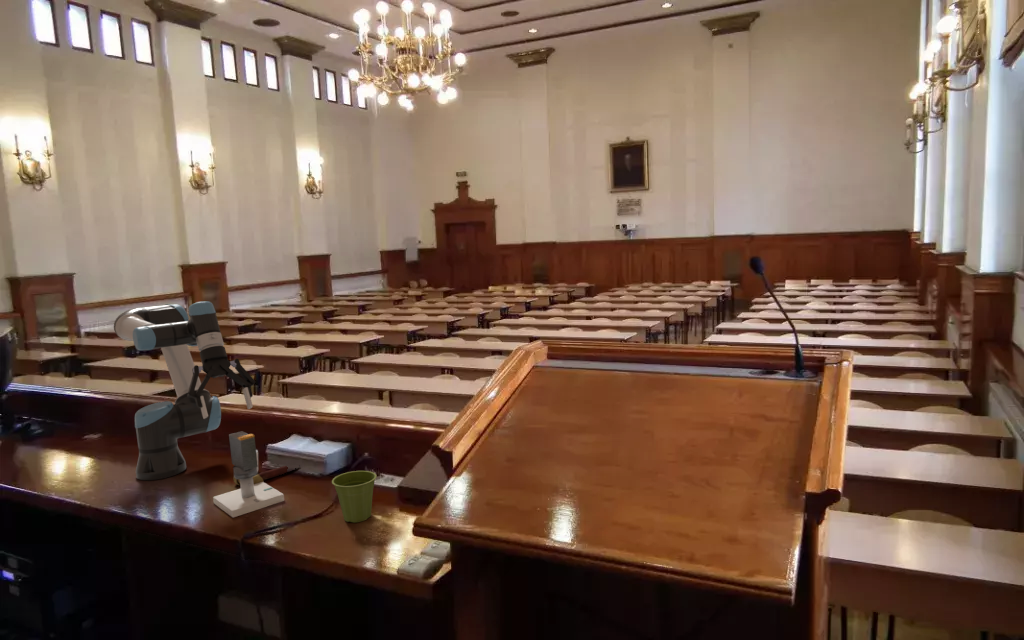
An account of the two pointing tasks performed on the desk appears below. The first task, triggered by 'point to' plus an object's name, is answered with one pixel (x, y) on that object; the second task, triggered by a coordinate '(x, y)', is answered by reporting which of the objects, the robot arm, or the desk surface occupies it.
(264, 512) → the desk surface
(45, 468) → the desk surface
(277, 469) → the gavel
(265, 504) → the base
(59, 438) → the desk surface
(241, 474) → the grey block orange cap
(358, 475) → the plant pot
